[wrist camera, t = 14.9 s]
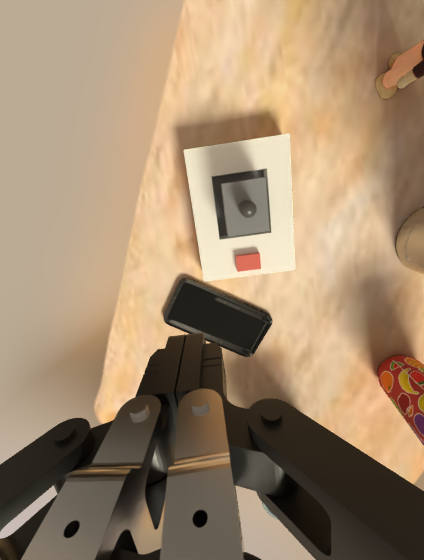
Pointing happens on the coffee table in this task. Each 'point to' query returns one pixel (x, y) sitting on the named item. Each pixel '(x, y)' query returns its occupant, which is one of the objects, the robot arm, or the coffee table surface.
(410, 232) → the robot arm
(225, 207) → the plug
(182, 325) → the phone
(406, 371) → the smoothie
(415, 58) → the grandmother figurine
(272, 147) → the socket plate
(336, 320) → the coffee table surface
